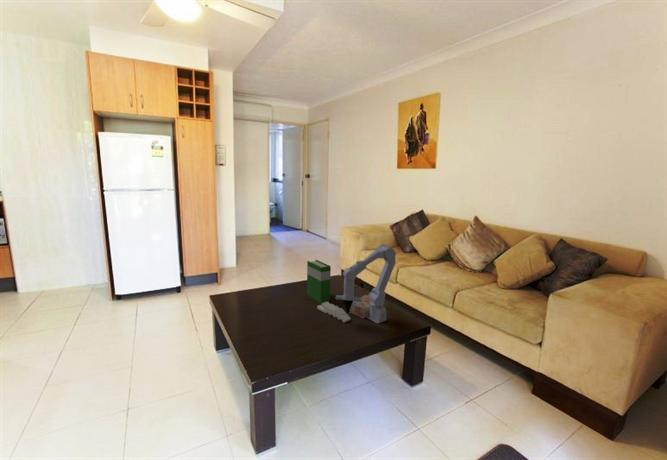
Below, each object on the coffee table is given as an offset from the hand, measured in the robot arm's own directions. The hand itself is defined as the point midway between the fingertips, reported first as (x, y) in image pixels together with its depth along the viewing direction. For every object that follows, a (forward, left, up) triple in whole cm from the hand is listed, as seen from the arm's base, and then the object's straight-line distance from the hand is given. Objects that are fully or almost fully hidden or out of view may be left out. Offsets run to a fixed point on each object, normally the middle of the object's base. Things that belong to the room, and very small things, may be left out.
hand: (348, 312), depth 181 cm
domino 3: (+8, 0, -5) cm, 10 cm away
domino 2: (+13, 0, -5) cm, 14 cm away
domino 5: (0, 0, -5) cm, 5 cm away
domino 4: (+4, 0, -5) cm, 7 cm away
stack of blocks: (+11, -19, -3) cm, 22 cm away
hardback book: (+39, -9, -6) cm, 41 cm away
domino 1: (+16, 0, -5) cm, 17 cm away
